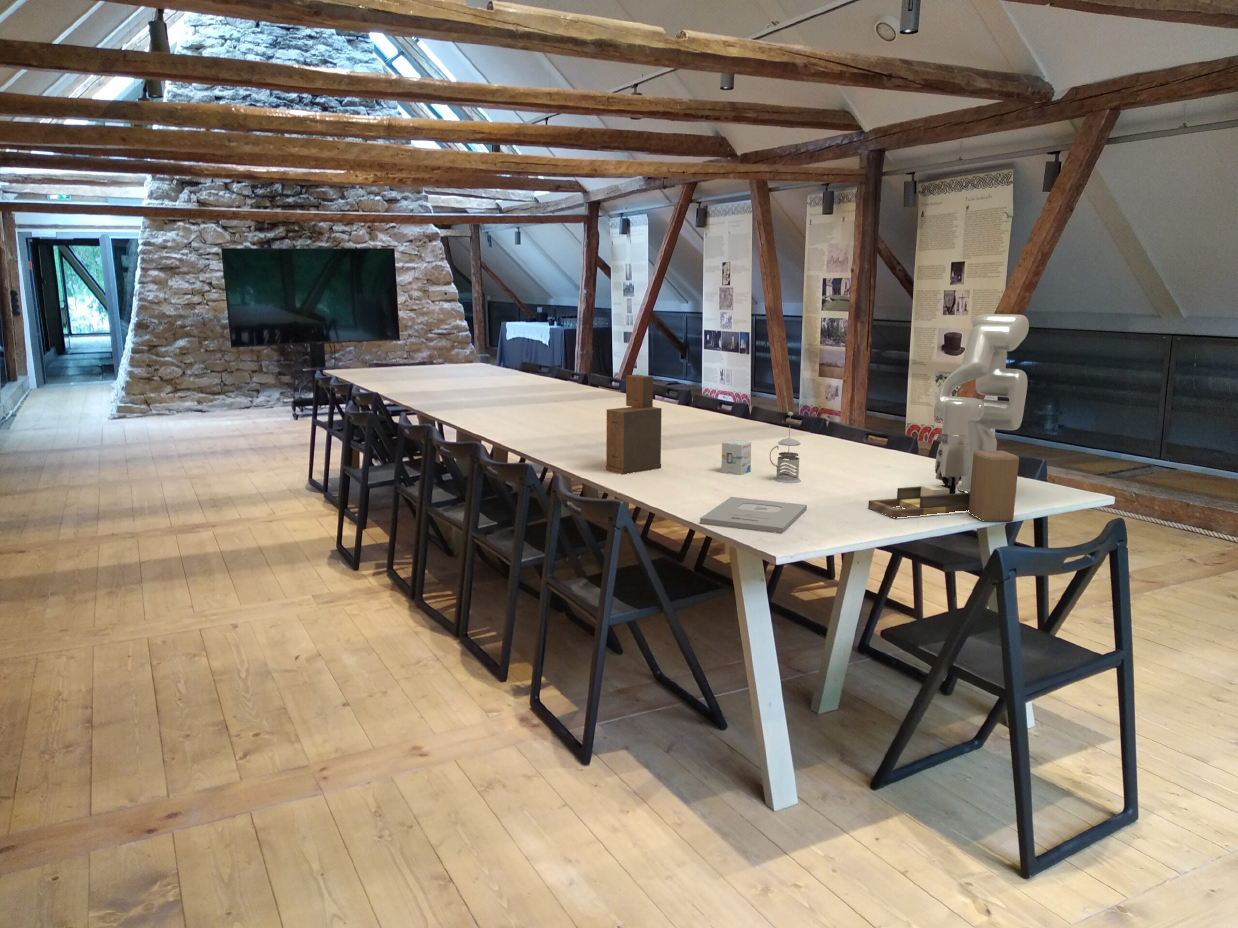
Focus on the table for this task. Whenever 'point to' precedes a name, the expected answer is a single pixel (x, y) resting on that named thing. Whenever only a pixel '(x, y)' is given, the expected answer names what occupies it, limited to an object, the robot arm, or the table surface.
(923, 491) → the cream block
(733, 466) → the ink box
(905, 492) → the tunnel deck
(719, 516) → the award plaque
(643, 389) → the stacked wooden blocks
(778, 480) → the french press
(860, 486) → the table surface
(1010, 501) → the block
